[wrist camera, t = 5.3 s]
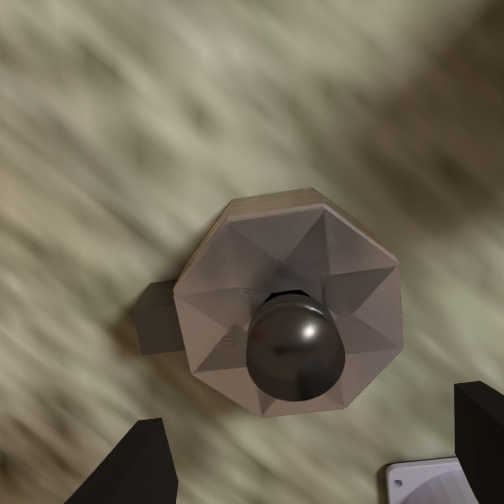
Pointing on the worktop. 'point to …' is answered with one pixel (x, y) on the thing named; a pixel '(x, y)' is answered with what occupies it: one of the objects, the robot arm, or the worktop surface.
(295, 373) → the plunger
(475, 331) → the worktop surface
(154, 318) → the grey octagonal hollow piece
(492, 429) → the robot arm
